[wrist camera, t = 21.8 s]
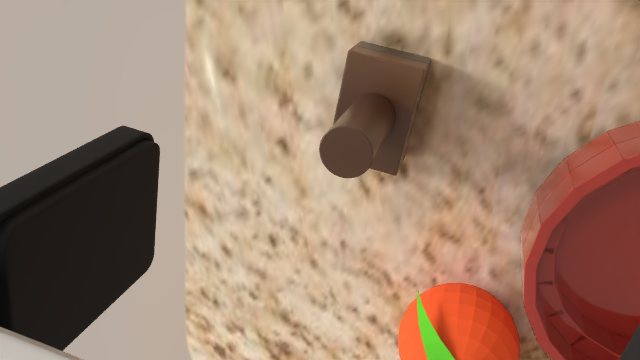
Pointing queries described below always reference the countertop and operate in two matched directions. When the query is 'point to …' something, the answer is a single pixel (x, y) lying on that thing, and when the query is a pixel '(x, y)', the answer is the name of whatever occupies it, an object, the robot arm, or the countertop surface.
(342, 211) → the countertop surface
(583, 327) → the bowl
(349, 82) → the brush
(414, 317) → the clementine
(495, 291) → the countertop surface
